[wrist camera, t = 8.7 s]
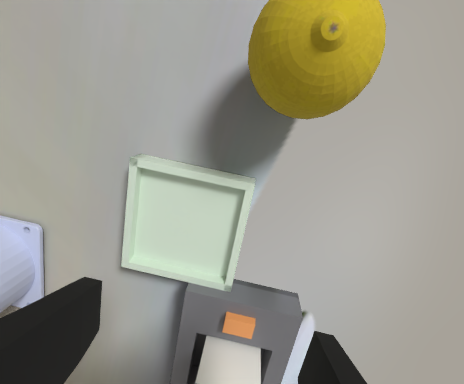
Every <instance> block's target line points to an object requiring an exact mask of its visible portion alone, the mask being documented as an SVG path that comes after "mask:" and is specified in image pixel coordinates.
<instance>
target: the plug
mask: <svg viewBox="0 0 464 384" xmlns="http://www.w3.org/2000/svg"><path fill="white" fill-rule="evenodd" d="M194 384H261V348H258V347H254V346H250V345H246V344H242V343H237V342H233V341H229V340H225V339H221V338H217V337H212V336H208V335H207V336H206V340H205V345H204V349H203V353H202V357H201V361H200V365H199V370H198V374H197V378H196V382H195V383H194Z"/></svg>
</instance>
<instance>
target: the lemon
mask: <svg viewBox="0 0 464 384" xmlns="http://www.w3.org/2000/svg"><path fill="white" fill-rule="evenodd" d="M385 28H386V24H385V19H384V14H383V9H382V6H381V4H380V2H379V0H269V1H268V2H267V4H266V5H265V6H264V8H263V9H262V11H261V13H260V15H259V17H258V19H257V21H256V23H255V25H254V27H253V31H252V35H251V38H250V42H249V52H248V65H249V70H250V75H251V80H252V82H253V84H254V86H255V88H256V90H257V93H258V94H259V95H260V97H261V98H262V99H263V100H264V102H265V103H266V104H267V105H268V106H270V107H271V108H273V109H274V110H275V111H277V112H278V113H281V114H283V115H286V116H289V117H291V118H299V119H311V118H318V117H323V116H326V115H328V114H331V113H333V112H335V111H338V110H340V109H341V108H343V107H344V106H345V105H347V104H348V103H349V102H351V101H352V100H354V99H355V98H356V97H357V96H358V95H359V93H360V92H361V91H362V90H363V89H364V88H365V86H366V85H367V84H368V83H369V82H370V80H371V78H372V76H373V75H374V73H375V71H376V69H377V67H378V65H379V63H380V60H381V56H382V53H383V50H384V46H385V30H386V29H385Z"/></svg>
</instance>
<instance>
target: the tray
mask: <svg viewBox="0 0 464 384" xmlns="http://www.w3.org/2000/svg"><path fill="white" fill-rule="evenodd" d="M255 180H256V178H251V177H247V176H242V175H237V174H233V173H228V172H223V171H218V170H214V169H209V168H204V167H200V166H195V165H190V164H186V163H181V162H176V161H172V160H167V159H162V158H158V157H153V156H148V155H144V154H139V155H136V156H133V157H130V164H129V176H128V188H127V201H126V213H125V225H124V238H123V250H122V262H121V267H124V268H129V269H133V270H137V271H142V272H146V273H150V274H155V275H159V276H163V277H167V278H172V279H176V280H180V281H185V282H189V283H193V284H198V285H202V286H206V287H210V288H215V289H219V290H223V291H228V292H231V288H232V283H233V279H234V275H235V270H236V266H237V262H238V257H239V253H240V249H241V244H242V240H243V235H244V231H245V227H246V222H247V218H248V214H249V209H250V205H251V201H252V196H253V192H254V187H255Z"/></svg>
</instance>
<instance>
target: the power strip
mask: <svg viewBox="0 0 464 384" xmlns="http://www.w3.org/2000/svg"><path fill="white" fill-rule="evenodd" d="M302 319H303V316H302V312H301V307H300V302H299V298H298V294H297V293H292V292H288V291H283V290H279V289H275V288H271V287H266V286H262V285H258V284H253V283H249V282H244V281H240V280H236V279H233V283H232V288H231V292H228V291H223V290H219V289H215V288H210V287H206V286H202V285H198V284H193V283H189V284H188V286H187V289H186V291H185V297H184V303H183V309H182V315H181V321H180V327H179V333H178V339H177V345H176V351H175V356H174V362H173V368H172V374H171V380H170V384H194V383H195V382H196V378H197V374H198V370H199V365H200V361H201V357H202V353H203V349H204V345H205V340H206V336H207V335H208V336H212V337H217V338H221V339H225V340H229V341H233V342H237V343H242V344H246V345H250V346H254V347H258V348H261V384H281V381H282V378H283V375H284V372H285V369H286V366H287V364H288V361H289V358H290V355H291V352H292V349H293V346H294V343H295V340H296V337H297V334H298V331H299V328H300V325H301V322H302Z"/></svg>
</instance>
